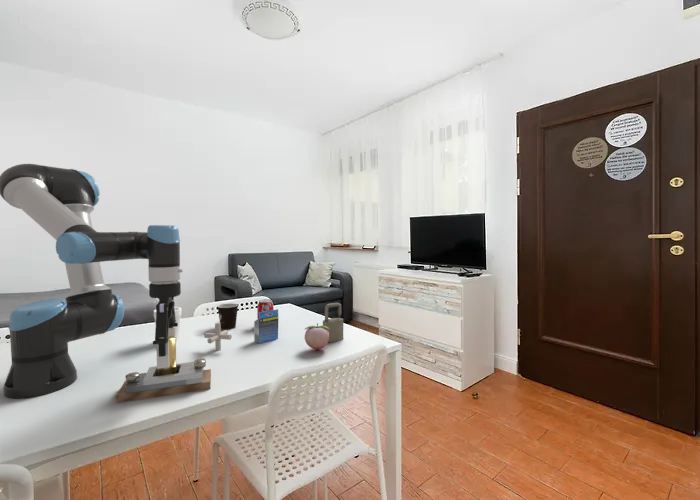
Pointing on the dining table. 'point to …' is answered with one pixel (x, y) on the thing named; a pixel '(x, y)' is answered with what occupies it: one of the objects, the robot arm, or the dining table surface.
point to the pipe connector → (217, 336)
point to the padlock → (334, 324)
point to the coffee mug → (227, 315)
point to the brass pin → (170, 358)
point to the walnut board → (164, 390)
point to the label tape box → (266, 327)
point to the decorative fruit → (317, 336)
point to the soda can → (264, 306)
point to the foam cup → (177, 317)
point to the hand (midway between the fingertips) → (167, 358)
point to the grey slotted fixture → (166, 377)
